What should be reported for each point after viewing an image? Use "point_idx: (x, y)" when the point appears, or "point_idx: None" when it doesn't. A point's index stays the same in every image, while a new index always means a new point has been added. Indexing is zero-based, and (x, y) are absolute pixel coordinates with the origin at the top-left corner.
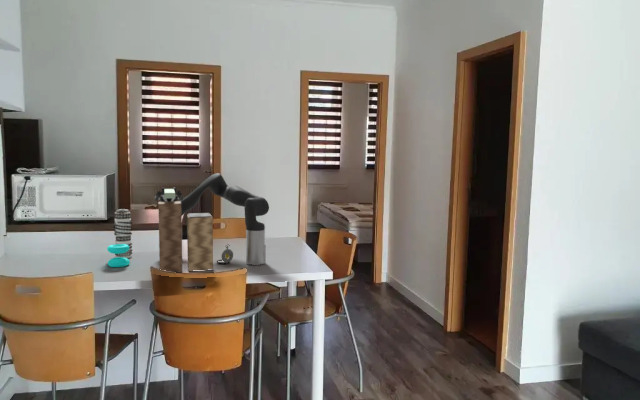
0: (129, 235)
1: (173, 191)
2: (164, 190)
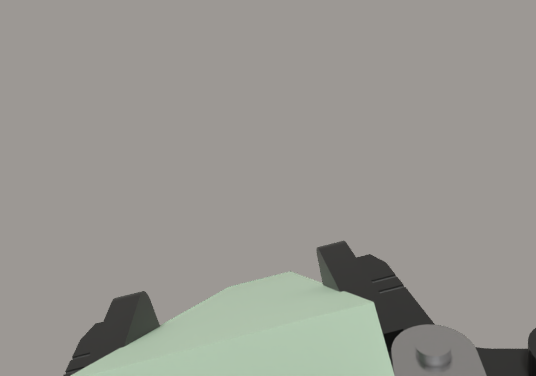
0: None
1: (224, 292)
2: (308, 278)
